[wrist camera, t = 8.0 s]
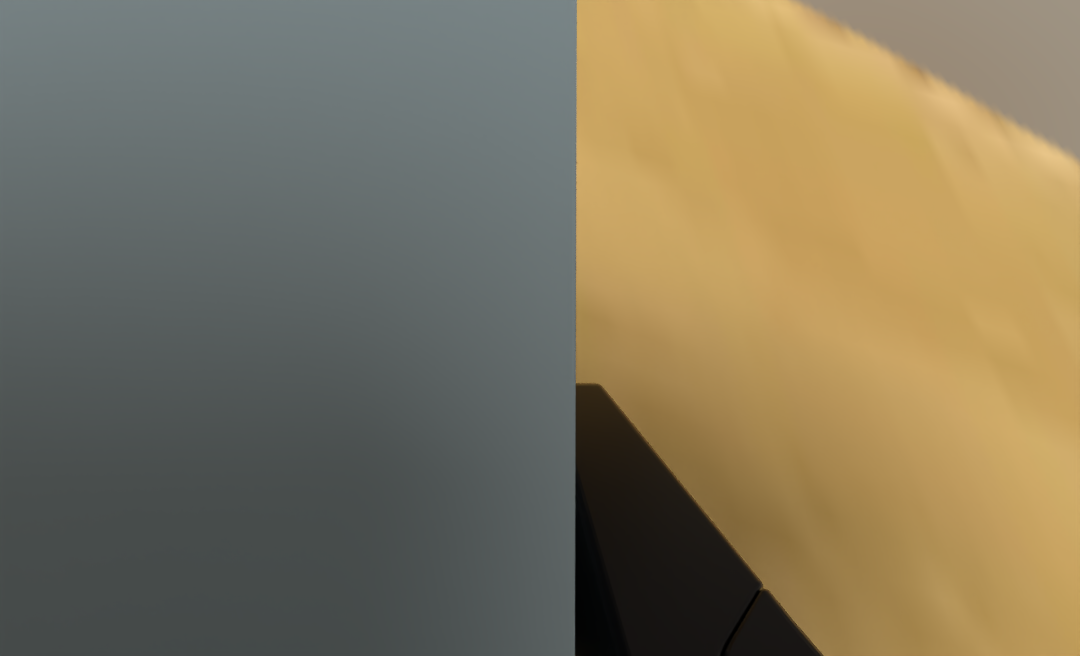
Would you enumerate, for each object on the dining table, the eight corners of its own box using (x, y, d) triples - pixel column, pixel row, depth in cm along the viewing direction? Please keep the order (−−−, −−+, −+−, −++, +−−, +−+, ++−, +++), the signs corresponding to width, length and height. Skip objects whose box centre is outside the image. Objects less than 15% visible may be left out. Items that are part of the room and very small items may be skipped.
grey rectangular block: (562, 672, 14) (572, 1555, 2) (347, 668, 14) (-815, 1481, 2) (564, 397, 15) (575, -30, 3) (367, 395, 15) (-287, -22, 3)
